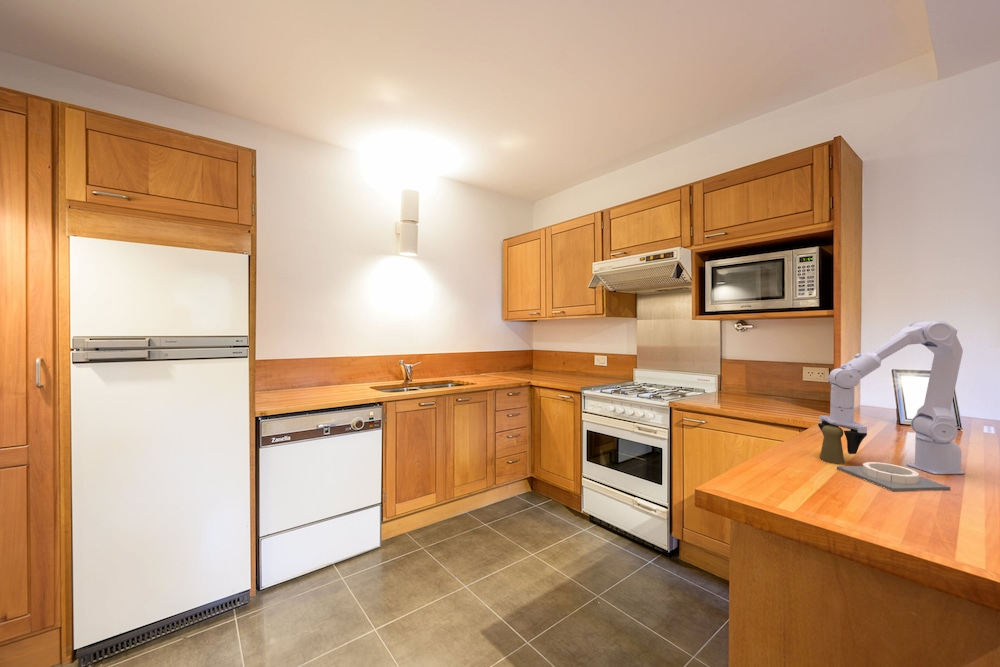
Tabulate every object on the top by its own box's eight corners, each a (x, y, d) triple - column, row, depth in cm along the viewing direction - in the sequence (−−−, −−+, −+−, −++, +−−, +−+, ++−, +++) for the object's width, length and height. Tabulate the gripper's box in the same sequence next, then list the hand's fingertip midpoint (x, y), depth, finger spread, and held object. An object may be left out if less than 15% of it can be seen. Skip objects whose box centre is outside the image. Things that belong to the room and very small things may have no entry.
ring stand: (887, 468, 121) (887, 458, 120) (950, 490, 105) (950, 479, 105) (836, 469, 120) (837, 459, 119) (892, 491, 104) (893, 480, 103)
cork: (835, 458, 130) (835, 424, 129) (849, 464, 124) (850, 428, 123) (815, 457, 130) (815, 423, 130) (828, 463, 124) (829, 428, 124)
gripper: (810, 402, 134) (809, 443, 134) (851, 412, 119) (850, 457, 119) (830, 402, 134) (829, 442, 134) (873, 411, 120) (872, 457, 120)
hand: (840, 449), depth 127 cm, fingers open, 7 cm apart
